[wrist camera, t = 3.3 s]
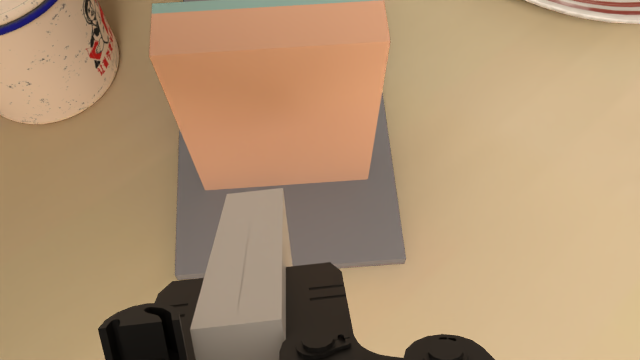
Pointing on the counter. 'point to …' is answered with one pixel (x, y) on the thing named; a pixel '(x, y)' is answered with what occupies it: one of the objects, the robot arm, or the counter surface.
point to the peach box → (273, 86)
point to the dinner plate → (596, 9)
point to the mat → (303, 215)
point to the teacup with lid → (53, 58)
